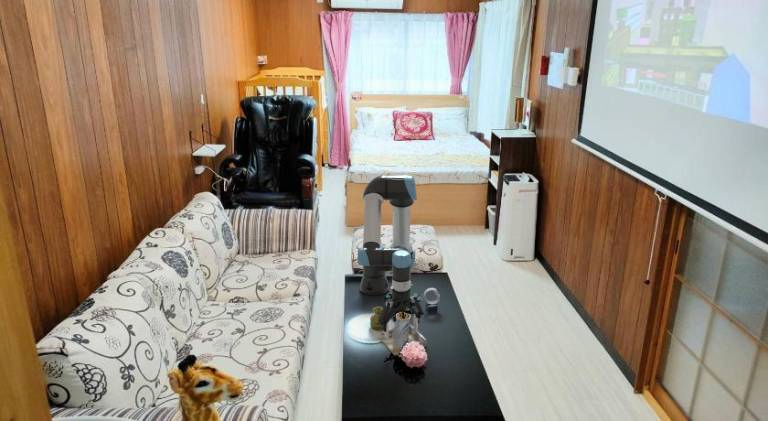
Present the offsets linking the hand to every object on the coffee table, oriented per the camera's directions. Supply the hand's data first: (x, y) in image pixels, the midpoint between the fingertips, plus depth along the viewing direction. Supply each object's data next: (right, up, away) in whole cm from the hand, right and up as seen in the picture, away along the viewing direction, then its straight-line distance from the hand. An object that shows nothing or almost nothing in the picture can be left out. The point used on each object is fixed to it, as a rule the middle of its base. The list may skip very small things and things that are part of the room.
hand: (401, 334), depth 221 cm
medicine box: (0, -4, +1) cm, 5 cm away
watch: (+16, +4, +32) cm, 36 cm away
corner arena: (+1, -5, +3) cm, 6 cm away
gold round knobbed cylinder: (-10, -1, +16) cm, 19 cm away
